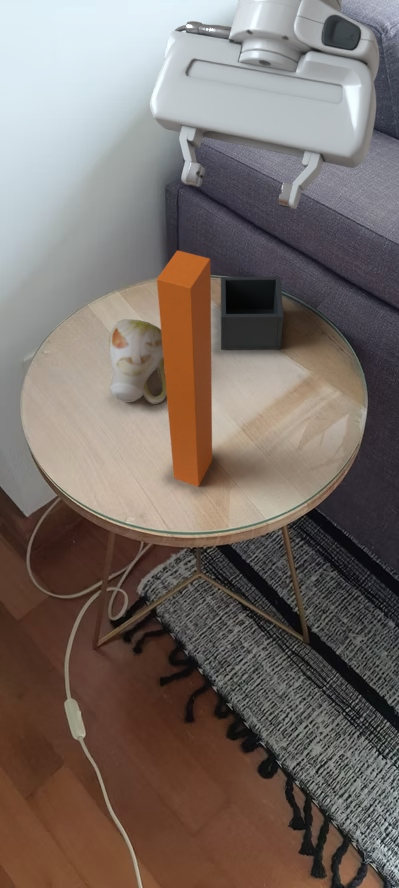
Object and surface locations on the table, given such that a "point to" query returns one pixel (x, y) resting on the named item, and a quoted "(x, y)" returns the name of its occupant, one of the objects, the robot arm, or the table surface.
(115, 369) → the mug
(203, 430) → the block
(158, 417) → the table surface
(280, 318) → the bin
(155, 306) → the table surface
